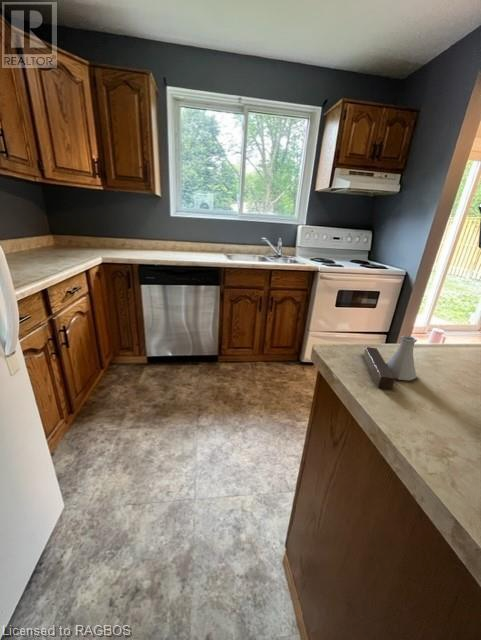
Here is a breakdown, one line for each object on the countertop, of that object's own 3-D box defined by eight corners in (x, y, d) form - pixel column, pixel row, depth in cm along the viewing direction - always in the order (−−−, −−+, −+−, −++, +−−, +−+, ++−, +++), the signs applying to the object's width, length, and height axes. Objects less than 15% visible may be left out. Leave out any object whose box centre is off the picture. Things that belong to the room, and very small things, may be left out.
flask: (376, 367, 72) (385, 333, 68) (399, 365, 74) (409, 331, 70) (397, 382, 65) (408, 345, 62) (422, 380, 67) (434, 343, 64)
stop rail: (374, 357, 77) (376, 348, 76) (391, 389, 63) (395, 378, 61) (363, 356, 78) (365, 346, 77) (377, 387, 63) (380, 376, 62)
